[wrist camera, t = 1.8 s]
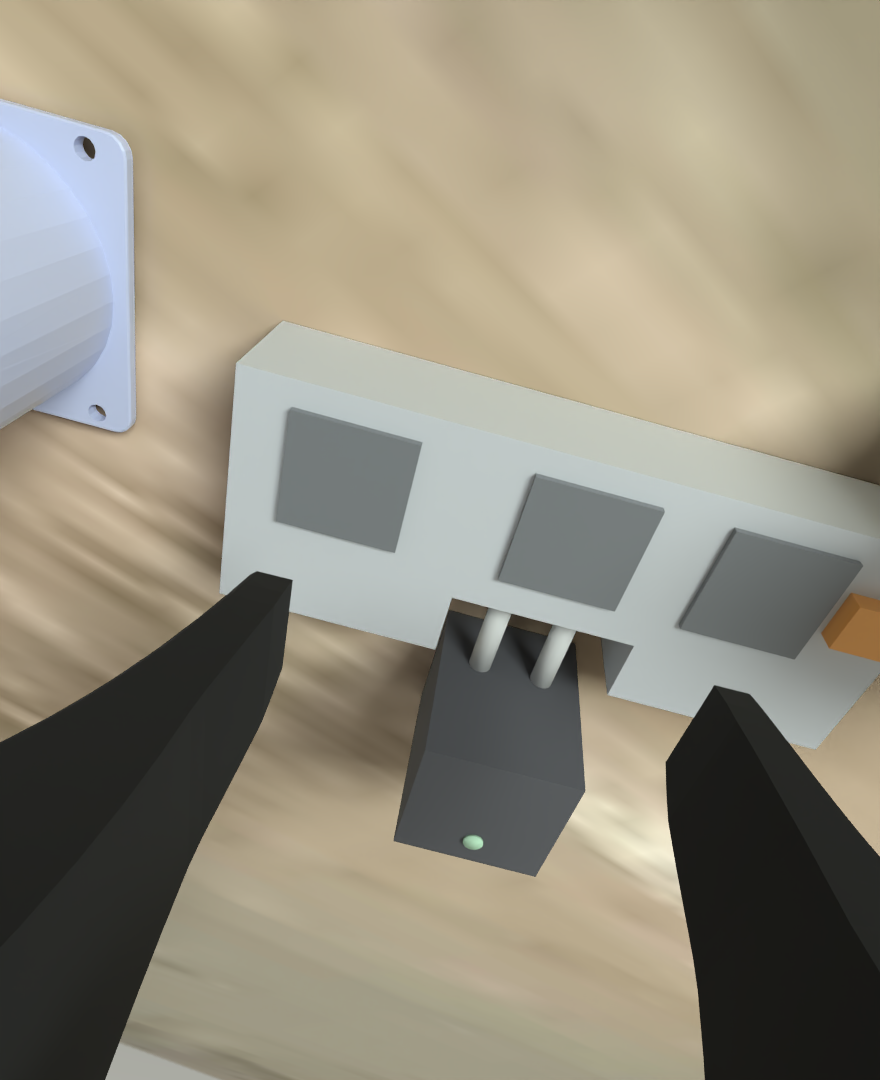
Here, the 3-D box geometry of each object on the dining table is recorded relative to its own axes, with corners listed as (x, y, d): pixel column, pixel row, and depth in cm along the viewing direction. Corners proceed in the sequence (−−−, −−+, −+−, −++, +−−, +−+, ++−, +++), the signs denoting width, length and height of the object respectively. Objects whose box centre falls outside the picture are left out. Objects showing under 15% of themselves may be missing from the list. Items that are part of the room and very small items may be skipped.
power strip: (260, 528, 23) (210, 606, 19) (282, 320, 19) (226, 371, 15) (780, 667, 23) (822, 766, 20) (906, 492, 19) (985, 578, 16)
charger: (421, 697, 26) (392, 843, 21) (470, 545, 22) (450, 681, 17) (535, 726, 26) (535, 879, 21) (604, 581, 22) (624, 727, 17)
